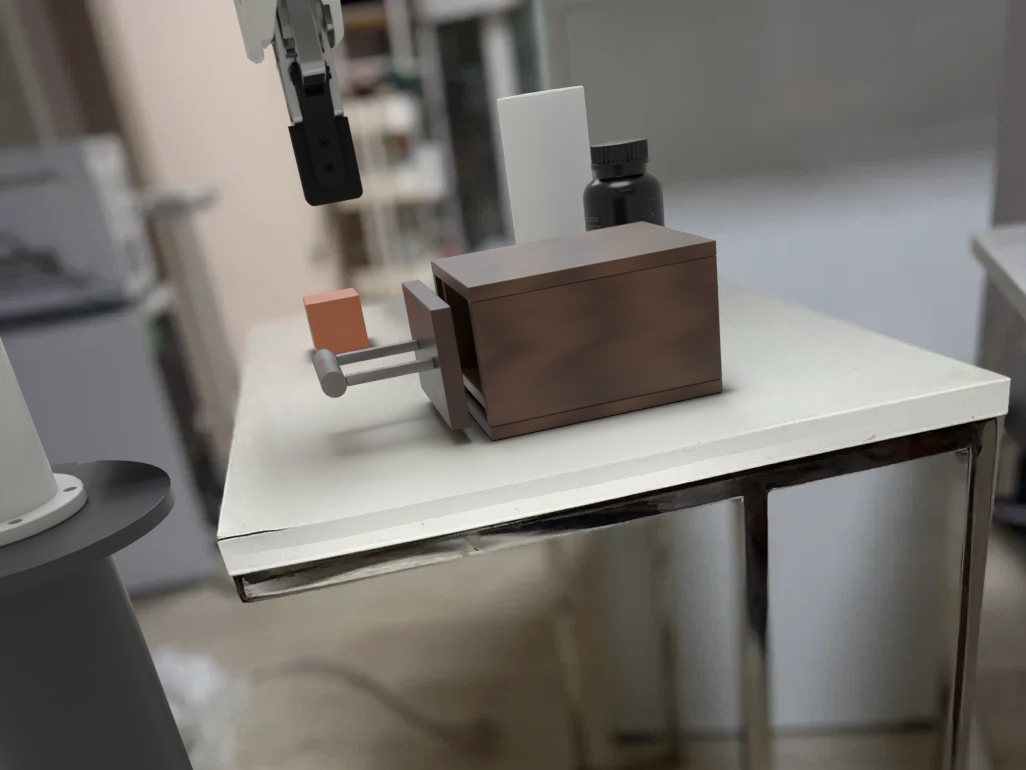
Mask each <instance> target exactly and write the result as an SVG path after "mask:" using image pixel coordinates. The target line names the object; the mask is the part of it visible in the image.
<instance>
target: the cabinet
mask: <svg viewBox="0 0 1026 770" xmlns="http://www.w3.org/2000/svg"><path fill="white" fill-rule="evenodd" d="M717 257H718V256H717V240H715V239H711V238H708V237H705V236H700V235H697V234H693V233H689V232H685V231H682V230H677V229H673V228H670V227H667V226H665V227H663V226H659V225H655V224H651V223H647V222H644V221H641V222H635V223H630V224H624V225H619V226H614V227H608V228H603V229H598V230H592V231H587V232H581V233H576V234H571V235H565V236H560V237H555V238H549V239H544V240H538V241H533V242H528V243H522V244H517V245H516V244H512V245H511V244H510V245H507V246H501V247H496V248H491V249H486V250H480V251H475V252H474V251H473V252H469V253H462V254H459V255H453V256H447V257H442V258H437V259H432V260H430V266H431V273H432V279H433V284H434V289H435V294H436V295H437V296H438V297H440V298H441V299H442V300H443V301H444V302H445V298H444V293H443V287H442V281H443V282H445V283H446V284H447V285H449V286H450V287H451V288H453V289H454V290H455V291H456V292H458V293H459V294H460V295H462V296H463V297H464V298H465V299H467V300H468V305H469V312H470V318H471V324H472V330H473V336H474V342H475V349H476V355H477V361H478V367H479V373H480V379H481V386H482V392H483V398H484V404H485V408H484V407H483V406H482V404H481V403H480V402H479V401H478V400H477V399H476V398H475V397H474V395H473V394H472V393H471V392H470V391H469V390H468V389H467V388H466V386H465V385H464V387H465V392H466V398H467V404H468V410H469V414H470V416H471V415H472V417H473V418H474V419H475V421H476V422H477V423H478V424H479V425H480V427H481V428H482V430H483V431H484V432H485V433H486V434H487V435H488V437H489V438H490V439H491V440H492V441H497V440H501V439H506V438H511V437H515V436H520V435H525V434H529V433H534V432H540V431H544V430H549V429H554V428H558V427H563V426H568V425H572V424H577V423H582V422H586V421H591V420H595V419H600V418H605V417H609V416H615V415H619V414H624V413H628V412H634V411H638V410H642V409H643V410H644V409H647V408H652V407H656V406H660V405H666V404H671V403H676V402H681V401H684V400H689V399H694V398H699V397H703V396H708V395H709V396H710V395H713V394H718V393H722V392H724V391H723V390H724V389H723V369H722V368H723V367H722V346H721V345H722V344H721V323H720V302H719V278H718V263H717V262H718V259H717Z"/></svg>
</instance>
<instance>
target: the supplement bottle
mask: <svg viewBox="0 0 1026 770" xmlns="http://www.w3.org/2000/svg"><path fill="white" fill-rule="evenodd" d="M648 143H649V141H648V138H646V137H638V138H637V137H635V138H626V139H618V140H612V141H606V142H601V143H596V144H593V145H589V146H590V156H591V164H590V165H591V170H592V171H593V172H594V178H593V180H592V181H591V182H590V183H589V184H588V185H587V186H586V188H585V190H584V193H583V207H584V218H585V229H586V232H587V231H592V230H598V229H603V228H608V227H614V226H619V225H624V224H630V223H635V222H641V221H644V222H647V223H651V224H655V225H659V226H663V227H666V224H665V205H664V190H663V184H662V182H661V180H660V179H659V177H658V176H657V175H656V174H654V173H653V172H651V171H649V170H648V163H650V161H651V159H650V156H649V144H648Z"/></svg>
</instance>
